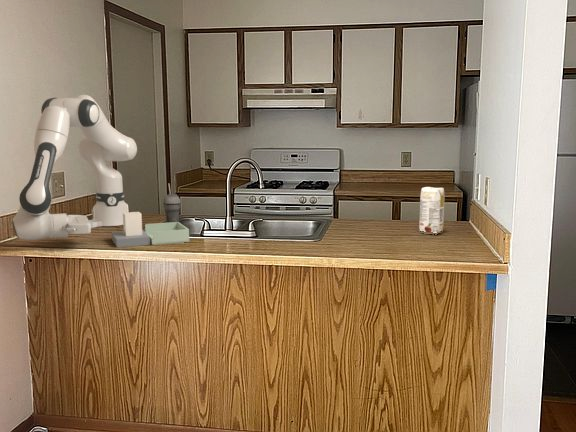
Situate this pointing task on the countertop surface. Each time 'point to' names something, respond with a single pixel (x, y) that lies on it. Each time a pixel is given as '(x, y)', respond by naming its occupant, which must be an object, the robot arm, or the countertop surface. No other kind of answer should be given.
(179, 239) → the box
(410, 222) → the countertop surface
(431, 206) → the juice carton
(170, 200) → the beverage cup
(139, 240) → the board
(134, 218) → the off-white upright block
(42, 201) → the robot arm
